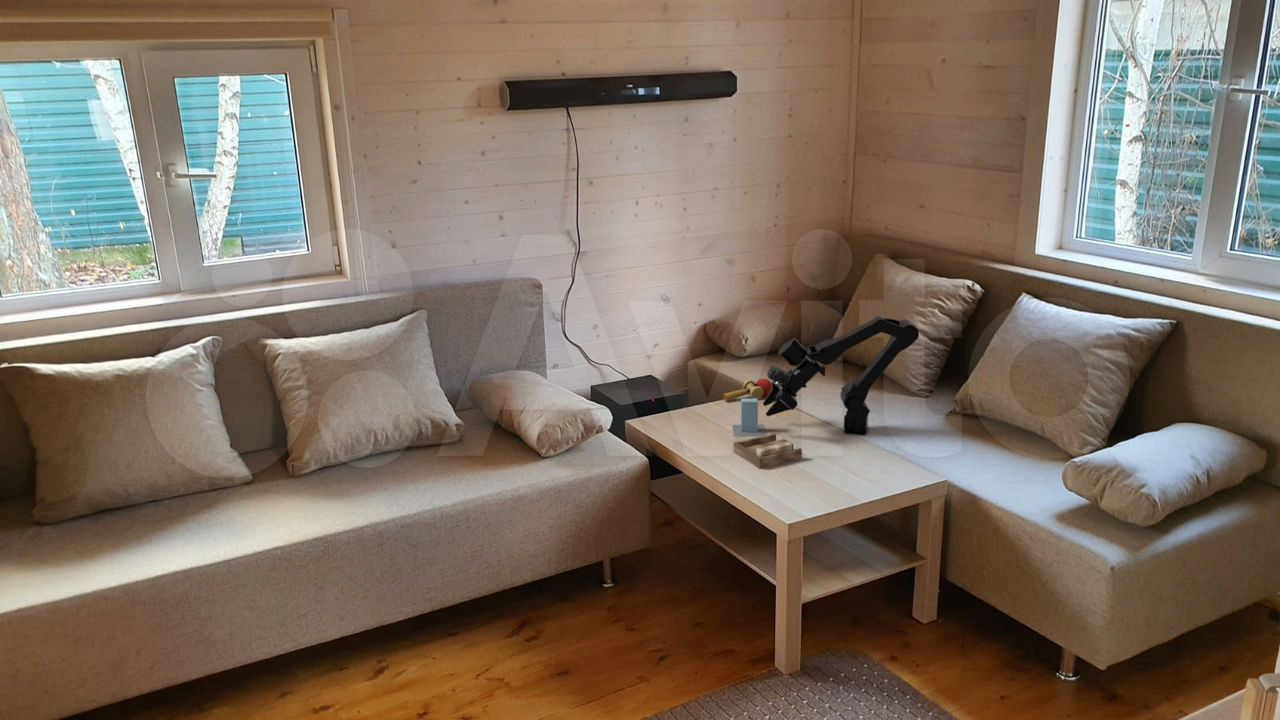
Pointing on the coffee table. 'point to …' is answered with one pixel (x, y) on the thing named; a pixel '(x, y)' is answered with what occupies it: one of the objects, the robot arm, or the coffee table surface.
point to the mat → (738, 432)
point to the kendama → (751, 390)
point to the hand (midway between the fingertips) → (765, 410)
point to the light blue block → (749, 415)
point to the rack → (748, 453)
